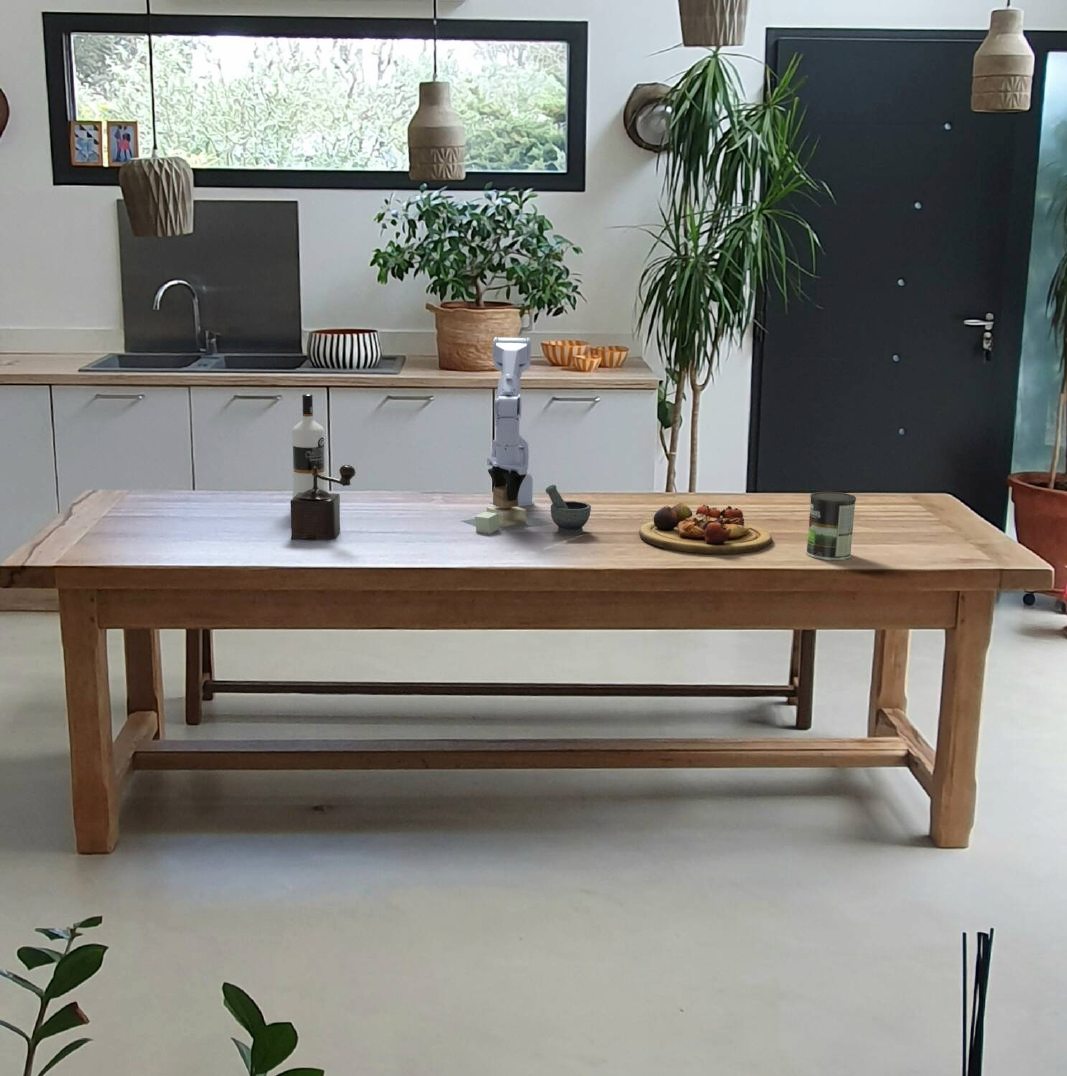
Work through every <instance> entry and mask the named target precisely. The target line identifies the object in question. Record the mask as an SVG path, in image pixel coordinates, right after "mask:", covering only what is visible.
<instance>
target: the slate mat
mask: <svg viewBox="0 0 1067 1076" xmlns="http://www.w3.org/2000/svg"><path fill="white" fill-rule="evenodd" d="M461 522H462V523H465V524H468V525H471V526H472V527H476V523H475V518H471V519H465V520H461ZM550 524H552V523H551V522H549V521H547V520H543V519H540V518H537V517H534V516H531V515H528V514H526V523H523V524H517V525H510V526H503V527H502V526H500V525H499V529H498V530H496V531H494V532H493V533H498V532H505V531H512V530H519V529H524V528H530V527H531V528H532V527H536V526H537V527H538V526H544V525H545V526H546V525H550Z"/></svg>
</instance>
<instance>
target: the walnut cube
mask: <svg viewBox="0 0 1067 1076" xmlns="http://www.w3.org/2000/svg"><path fill="white" fill-rule="evenodd" d="M492 501H493V504H492V505H493V506H497V507H500V508H510V507H517V506H518V496H517V500H513V501H509V500H508V495H507V486H499V487H494V486H493V487H492ZM518 507H519V506H518Z"/></svg>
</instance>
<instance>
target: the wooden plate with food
mask: <svg viewBox="0 0 1067 1076" xmlns="http://www.w3.org/2000/svg"><path fill="white" fill-rule="evenodd" d="M638 532H639V533H638V534H639V537H640V538H641V540H643V541H644V542H646V543H648V544H651V545H654V546H656V547H660V548H664V549H670V550H673V551H680V552H689V553H696V554H697V553H698V554H715V555H716V554H719V555H722V554H723V555H727V554H729V555H730V554H731V555H732V554H743V553H751V552H752V553H753V552H757V551H760V550H763V549H766V548H768V547H769V546H770V545H771V543H772V541H773V539H772V534H771V533H770V532H769V531H768V530H766V529H764V528H761V527H759V526H756V525H753V524H749V523H746V522H745V518H744V513H743V511H742V510H741V509H739V508H738V507H737V508H732V506H731V505H728V506H727V507H726V508H723V509H722V510H720V509H718V508H717V507H710V506H708V505H707V504H702V505H700V506H699V507H698V506H697V509H696V512H695V515H693V512H692V510H691V508H690V506H687V504H684V503H683V501H680V502H678V503H676V504H675V505H673V506H672V507H671V506H670V505H665V506H662V507H661V508H659V509H658V510H657V511H656V512H655V514H654V516H653V521H649V522H647V523H645V524H642V525H641V526H640V528H639V531H638Z"/></svg>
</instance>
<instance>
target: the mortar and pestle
mask: <svg viewBox="0 0 1067 1076" xmlns="http://www.w3.org/2000/svg"><path fill="white" fill-rule="evenodd" d="M545 493H546V494H548V497H549V499H550V500H551V504H550V517H551V518H552V521H553V523H554V524H555V525H556V526H557V533H559V534H561V535H567V536H572V535H573V536H575V535H582V533H583V532H584V531H583V530H584V529H583V527H584V526H585V525H587V522H588V520H589V519H590V516H591V509H592V505H590V504H589V503H587V502H583V501H576V500H575V501H574V500H572V501H571V500H568V501H567V500H566V501H564V499H563V497H562V496H561V494H560V492H559V491H558V489H557V486H556V484H550V485H549V486H547V487H546V489H545Z"/></svg>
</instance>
